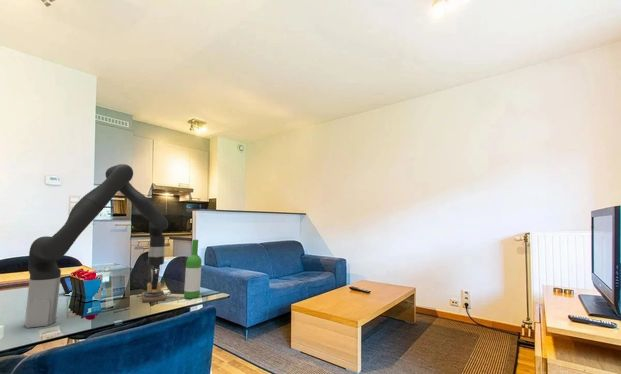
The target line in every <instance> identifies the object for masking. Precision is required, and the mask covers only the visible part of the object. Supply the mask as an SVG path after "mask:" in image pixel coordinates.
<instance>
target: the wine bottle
mask: <svg viewBox="0 0 621 374" xmlns="http://www.w3.org/2000/svg"><path fill="white" fill-rule="evenodd" d="M191 244H192V245H191V254H190V255H189V256H188V257H187V259H186V263H185V276H184V287H183V288H184V291H183V297H184V298H186V299H195V298H194V297H197V298H199V296H200V295H201V294H200V293H201V291H200V290H201V278H202V277H201V276H202V257H200V255H198V251H199V249H198V248H199V239H192V243H191Z"/></svg>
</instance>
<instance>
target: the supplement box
mask: <svg viewBox="0 0 621 374" xmlns="http://www.w3.org/2000/svg"><path fill="white" fill-rule="evenodd" d="M95 273H96V275H97V277H99V278H100V280H101V284H100V288H99V290H98V293H96V294H95V295H94V296H93V297H94V298H95V299H102V291H101V289H102V288H103V287H102V286H103V275H104V274H102V273H98V272H95Z"/></svg>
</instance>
